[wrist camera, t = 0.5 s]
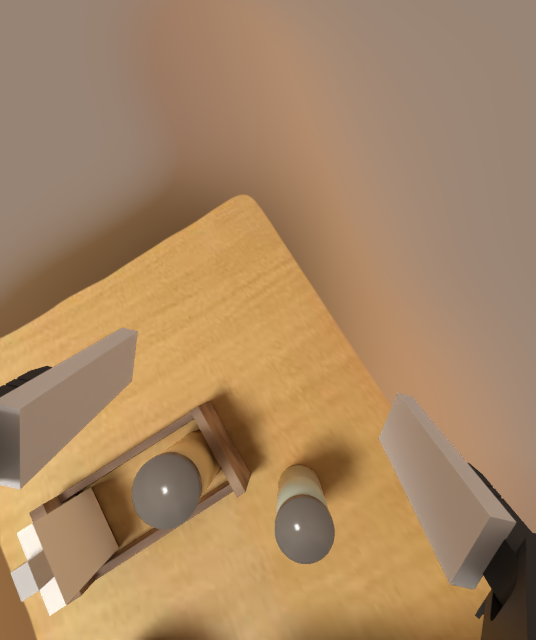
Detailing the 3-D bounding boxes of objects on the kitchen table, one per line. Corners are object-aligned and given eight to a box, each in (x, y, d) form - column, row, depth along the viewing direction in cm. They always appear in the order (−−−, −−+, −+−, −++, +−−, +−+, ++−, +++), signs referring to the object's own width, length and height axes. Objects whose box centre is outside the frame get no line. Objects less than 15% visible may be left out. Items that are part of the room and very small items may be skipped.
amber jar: (232, 465, 42) (211, 504, 30) (189, 492, 42) (151, 543, 30) (208, 421, 43) (178, 442, 31) (166, 447, 43) (120, 478, 31)
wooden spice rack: (251, 474, 42) (245, 492, 36) (93, 575, 41) (61, 611, 35) (209, 400, 44) (198, 406, 38) (58, 496, 43) (22, 516, 37)
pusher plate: (118, 547, 41) (51, 621, 29) (106, 555, 41) (33, 632, 29) (90, 487, 42) (16, 533, 31) (79, 494, 42) (-1, 544, 30)
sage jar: (330, 495, 41) (346, 542, 30) (292, 520, 40) (295, 576, 30) (305, 455, 42) (313, 486, 31) (269, 479, 42) (263, 518, 31)
